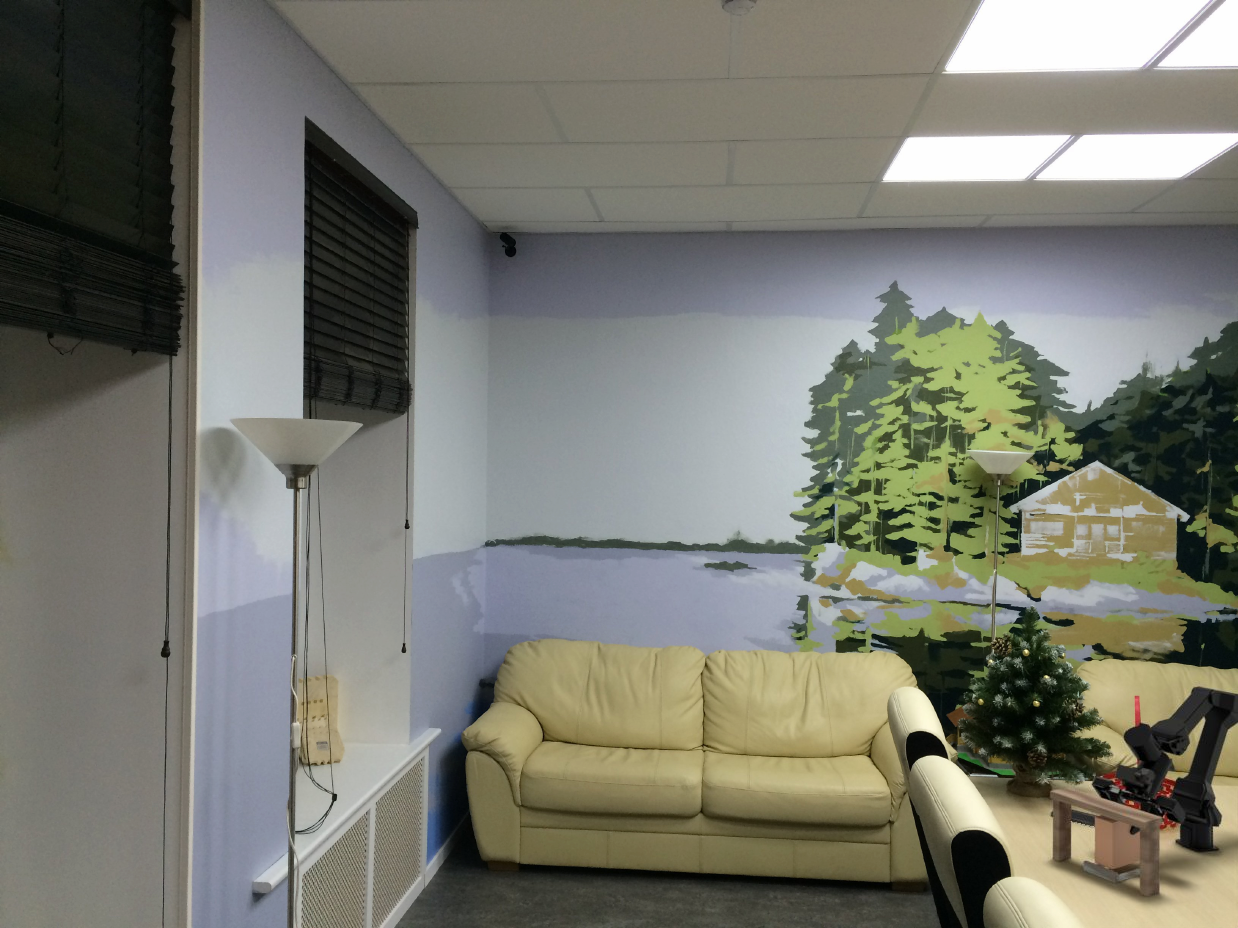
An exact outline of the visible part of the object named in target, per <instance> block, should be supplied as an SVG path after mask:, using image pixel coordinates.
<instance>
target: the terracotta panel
mask: <svg viewBox="0 0 1238 928" xmlns="http://www.w3.org/2000/svg"><path fill="white" fill-rule="evenodd" d="M1131 826H1132V825H1129V824H1126V823H1123V822H1120V821H1117V820H1114V819H1111V818H1108V817H1106V816H1103V815H1100V814H1099V815H1097V817H1095V828H1094V863H1097V864H1100V865H1102V866H1104V868H1107V869H1109V870H1114V869H1119V868H1121V867H1125V866H1128V865H1130V864H1133V863H1137V862H1140V831H1139V832H1138V833H1136V834H1134V835H1131V833H1130V829H1131Z"/></svg>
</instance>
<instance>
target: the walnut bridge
mask: <svg viewBox="0 0 1238 928" xmlns="http://www.w3.org/2000/svg"><path fill="white" fill-rule="evenodd" d="M1049 794H1050V795H1049V797H1050V799H1052V811H1053V817H1052V860H1055V861H1057V862H1061V861H1064V860H1068V859H1071V858H1072V822H1071V809H1072V806H1073V807H1077V808H1079V809H1083V810H1085V811H1088V812H1091V813H1094V814H1096V815H1099V816H1100V815H1103V816H1106V817H1108V818H1111V819H1114V820H1117V821H1120V822H1123V823H1126V824H1129V825H1132V826H1135V827H1138V828H1140V861H1139V868H1136V869H1132V870H1129V871H1126V872H1122V873H1120V874H1119V872H1117V871H1115V870H1113V869H1110V868H1108V867H1105V866H1104V867H1103V866H1102V865H1100V864H1097V863H1095V862H1091V861H1089V860H1083V871H1084V872H1086V873H1089V874H1090V875H1091V874H1092V875H1093V876H1097V877H1099V878H1101V877H1102V878H1101V879H1105V880H1106V881H1109V882H1111V883H1113V884H1116V882H1117V883H1120V882H1122V880H1123V881H1125V879H1126V880H1129V879H1132V878H1135V876H1136V877H1138V876H1139V894H1140V895H1141V896H1144V897H1146V898H1148V897H1151V896H1154V895H1157V894H1159V893H1160V892H1161V891H1160V873H1161V870H1160V868H1161V867H1160V866H1161V865H1160V860H1161V859H1160V855H1161V854H1160V853H1161V851H1160V850H1161V849H1160V844H1161V843H1160V840H1161V839H1160V838H1161V837H1160V835H1161V832H1160V829H1161V828H1160V827H1161V826H1162V825H1163V822H1162V817H1159V816H1156V815H1153V814H1150V813H1147V812H1144V811H1141V810H1140V809H1137V808H1134V807H1131V806H1128V805H1126V804H1125V805H1126V806H1125V805H1122V804H1119V803H1116V802H1113V801H1110V800H1106V799H1103V798H1101V797H1100V796H1098V795H1097V796H1096V795H1093V794H1091V793H1087V792H1084V791H1081V790H1077V789H1075V788H1073V787H1067V786H1066V787H1063V788H1057V789H1053V790H1050V791H1049ZM1128 878H1129V879H1128ZM1119 881H1120V882H1119Z"/></svg>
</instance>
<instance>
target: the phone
mask: <svg viewBox="0 0 1238 928" xmlns="http://www.w3.org/2000/svg"><path fill="white" fill-rule="evenodd" d="M1097 816H1098V814H1092V813H1088V812H1085V811H1079V810H1076V809H1072V808H1071V821H1072V822H1071V823H1074V822H1077V823H1076V824H1078V823H1081V824H1080V825H1082V824H1085V825H1084V826H1086V825H1090V826H1094V827H1095V817H1097ZM1050 817H1052V818H1053V810H1052V811H1050ZM1090 826H1089V827H1090ZM1094 827H1093V828H1094Z"/></svg>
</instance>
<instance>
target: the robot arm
mask: <svg viewBox="0 0 1238 928" xmlns="http://www.w3.org/2000/svg"><path fill="white" fill-rule="evenodd" d="M1190 691H1191V692H1190V695H1188V697H1187V698H1186V699H1185V700H1184V701H1183V702H1182V703H1181V705H1180V706H1178V708H1177V709H1176V710H1175V711H1174V713H1173V714H1172V715H1171V716H1170V717H1168V718H1166V719H1161V720H1159V721H1157V722H1156V723H1154V724H1153V725H1152V726H1150V724H1148V723H1143V722H1139V723H1138V725H1137V726H1133V727H1130V728H1128V729H1127V730H1125V732H1124V733H1123V740H1124V741H1123V742H1125V744H1126V745H1127V747H1128V748H1129V750H1130V751H1131V753H1132V754H1133V755H1134V757H1135V758H1136V759H1137V760H1139V762H1138V764H1137V766H1136V767H1135V766H1131V767H1130V766H1127V765H1123V764H1120V763H1119V764H1117V766H1116V770H1115V774H1114V779H1118V780H1120V781H1121V783H1120V784H1121V786H1123V787H1125V789H1122V788H1121V787H1119V786H1118V785H1116V782H1114V780H1112V779H1109V778H1106V777H1102V776H1096V777H1095V778H1093V780H1092V782H1091V786H1092V787H1093V789H1094V790H1095V792H1096V793H1097V796H1098V797H1100V798H1103V799H1106V800H1110V801H1113V802H1116V803H1119V804H1122V805H1125V806H1127V805H1126V804H1125V802H1126V801H1130V802H1133V803H1137V804H1139V805H1140V806H1139V807H1140V808H1139V810H1141V811H1144V812H1147V813H1150V814H1153V815H1156V816H1159V817H1162V823H1163V822H1164V821H1165V818H1164V816H1166V818H1167V820H1168V821H1170V822H1172V823H1176V824H1179V825H1180V826H1179V838H1177V839H1175V843H1178V844H1180V845H1181V846H1184V847H1186V848H1189V849H1190V850H1194V851H1195V852H1198V853H1199V852H1211V851H1218V850H1220V847H1219V846H1216V845H1214V827H1215V828H1220V825H1221V823H1222V819H1223V815H1222V813H1221V812H1220V810H1219V808H1218V807H1217V805H1216V795H1215V792H1214V789H1213V787H1212V783H1213V781H1214V777H1215V776H1214V775H1215V774H1216V770H1217V766H1218V763H1219V761H1220V757H1221V754H1222V751H1223V749H1224V748H1223V746H1224V744H1225V741H1226V738H1227V734H1228V731H1229V730H1230V729H1232V728H1233V727H1235V725H1237V724H1238V693H1235V692H1230V691H1225V690H1219V689H1214V688H1209V687H1203V686H1194V687H1192V688H1191V690H1190ZM1202 719H1204V722H1203V727H1202V730H1201V733H1200V735H1199V739H1198V742H1197V745H1196V748H1195V752H1194V755H1193V758H1192V761H1191V764H1190V768H1189V770H1188V773H1187V774H1186V776H1184V777H1180V776H1178V777H1177V778H1176V779H1175V781H1174V787H1173V789H1172V790H1171V794H1170V796H1166V795H1163V794H1159V795H1158V792H1163V791H1164V789H1165V788H1164V785H1163V782H1164V781H1165V779H1166V777H1167V775H1168V773H1169V771H1170V772H1171V771H1172V772H1175V770H1176V769H1175V765H1174V762H1173V758H1170V756H1169V755H1168V754H1170V755H1173V756H1178V757H1179V756H1182V755H1183V754H1185V752H1186V751H1187V750H1188V747H1189V745H1190V743H1191V739H1190V734H1191V733H1192V731H1193V730H1194V729H1195V728H1196V727H1197V725H1198V724H1199V723H1200V722H1201V721H1202ZM1139 831H1140V828H1138V827H1135V826H1131V829H1130V833H1131V835H1134V834H1136V833H1138V832H1139Z"/></svg>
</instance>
